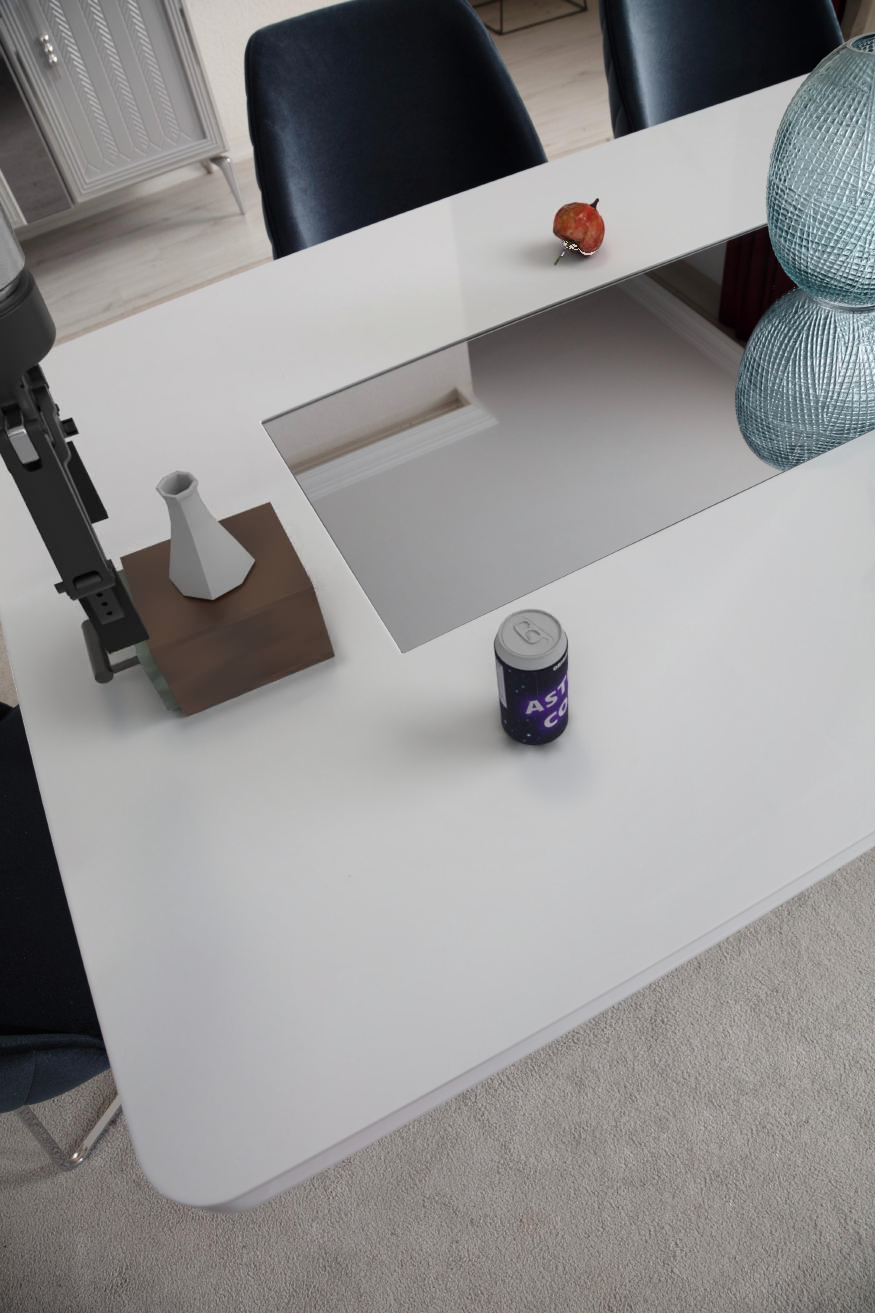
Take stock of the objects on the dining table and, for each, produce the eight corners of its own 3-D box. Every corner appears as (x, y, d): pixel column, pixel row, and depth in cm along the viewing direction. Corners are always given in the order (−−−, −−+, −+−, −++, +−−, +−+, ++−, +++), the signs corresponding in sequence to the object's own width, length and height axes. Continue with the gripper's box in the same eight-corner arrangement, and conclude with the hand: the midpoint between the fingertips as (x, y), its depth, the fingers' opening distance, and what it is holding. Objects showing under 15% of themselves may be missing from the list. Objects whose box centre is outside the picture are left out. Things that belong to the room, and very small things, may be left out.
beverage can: (527, 763, 77) (521, 673, 68) (489, 718, 80) (478, 627, 71) (582, 729, 78) (583, 637, 69) (542, 686, 82) (538, 593, 72)
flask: (155, 582, 82) (112, 495, 74) (212, 532, 85) (176, 444, 77) (214, 612, 78) (175, 525, 71) (270, 559, 82) (239, 470, 74)
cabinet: (186, 717, 84) (149, 649, 77) (155, 626, 92) (119, 557, 84) (335, 656, 87) (313, 585, 79) (293, 572, 94) (270, 501, 87)
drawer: (121, 731, 83) (86, 677, 77) (98, 646, 90) (64, 590, 84) (308, 655, 86) (288, 598, 80) (271, 578, 93) (251, 520, 87)
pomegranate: (581, 287, 127) (631, 225, 124) (549, 254, 122) (600, 188, 119) (555, 270, 132) (602, 210, 129) (524, 238, 127) (572, 175, 125)
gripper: (-127, 217, 55) (28, 495, 71) (-106, 436, 39) (87, 728, 55) (-1, 183, 56) (123, 463, 72) (68, 380, 41) (206, 680, 57)
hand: (108, 578), depth 64 cm, fingers open, 13 cm apart
